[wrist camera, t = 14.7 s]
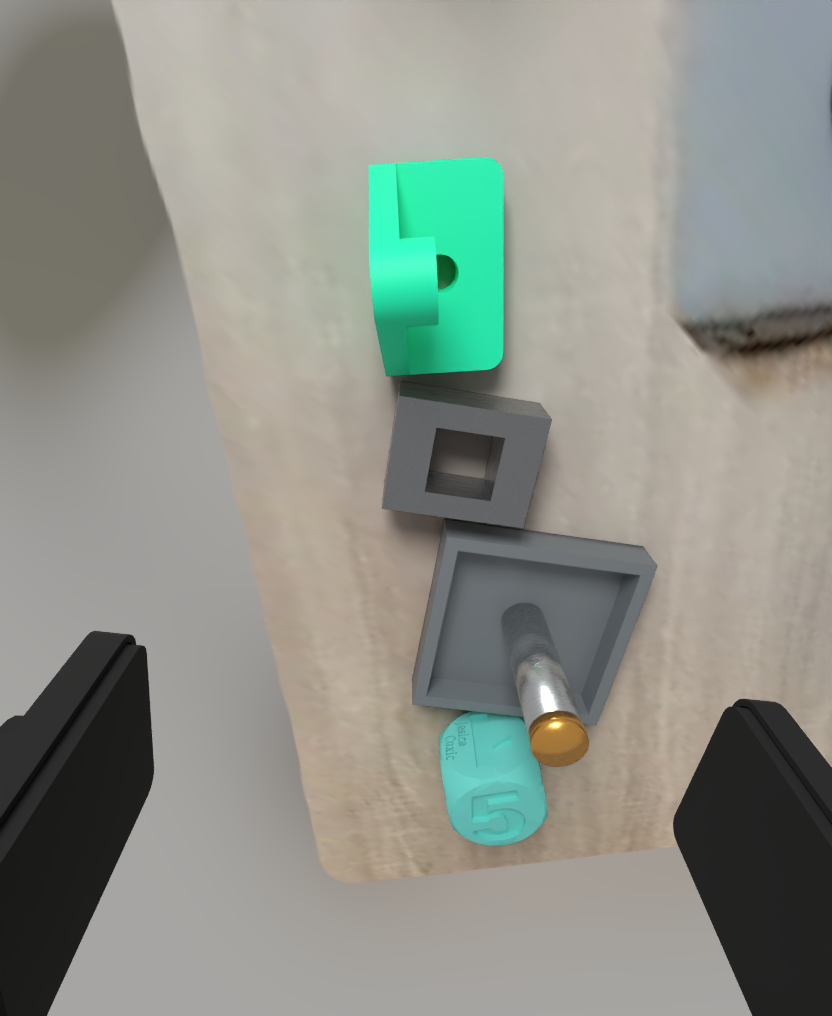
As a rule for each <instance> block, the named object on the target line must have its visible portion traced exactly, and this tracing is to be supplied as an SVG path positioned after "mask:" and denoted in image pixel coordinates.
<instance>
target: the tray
mask: <svg viewBox="0 0 832 1016" xmlns="http://www.w3.org/2000/svg"><path fill="white" fill-rule="evenodd" d="M656 569H657V564H656V563H655V562H654V560H653V559H652V558H651V556H650V555H649V554H648V552H647V551H646V550H645V548H644V547H643V546H636V545H629V544H622V543H615V542H608V541H600V540H593V539H586V538H579V537H572V536H564V535H557V534H550V533H543V532H536V531H529V530H521V529H514V528H507V527H500V526H493V525H485V524H478V523H471V522H464V521H457V520H449V519H445V520H444V525H443V530H442V535H441V540H440V545H439V549H438V554H437V559H436V564H435V569H434V574H433V579H432V584H431V589H430V594H429V599H428V604H427V609H426V614H425V619H424V624H423V629H422V634H421V638H420V643H419V648H418V653H417V658H416V663H415V668H414V673H413V678H412V704H414V705H423V706H432V707H441V708H450V709H459V710H467V711H476V712H485V713H494V714H503V715H512V716H520V717H523V713H522V708H521V704H520V700H519V696H518V692H517V688H516V684H515V680H514V676H513V671H512V667H511V663H510V659H509V655H508V651H507V647H506V643H505V639H504V634H503V630H502V626H501V618H502V615H503V614H504V612H505V611H506V610H507V609H508V608H509V607H511V606H513V605H515V604H518V603H531V604H534V605H536V606H538V607H539V608H540V609H541V610H542V612H543V614H544V617H545V620H546V622H547V625H548V628H549V631H550V633H551V636H552V639H553V642H554V645H555V647H556V650H557V653H558V656H559V658H560V661H561V664H562V667H563V670H564V672H565V675H566V678H567V681H568V683H569V686H570V689H571V692H572V695H573V697H574V700H575V703H576V706H577V709H578V711H579V714H580V717H581V720H582V722H583V724H591V725H597V722H598V720H599V717H600V715H601V712H602V709H603V707H604V704H605V702H606V699H607V696H608V694H609V691H610V689H611V686H612V683H613V681H614V678H615V676H616V673H617V670H618V668H619V665H620V663H621V660H622V657H623V655H624V652H625V649H626V647H627V644H628V642H629V639H630V636H631V634H632V631H633V629H634V626H635V623H636V621H637V618H638V616H639V613H640V610H641V608H642V605H643V603H644V600H645V597H646V595H647V592H648V590H649V587H650V584H651V582H652V579H653V577H654V574H655V571H656Z"/></svg>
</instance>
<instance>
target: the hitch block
mask: <svg viewBox="0 0 832 1016" xmlns="http://www.w3.org/2000/svg"><path fill="white" fill-rule="evenodd" d="M551 421H552V419H551V418H550V416H549V415H548V414H547V412H546V411H545V410H544V408H543V407H542V406H541V404H540V403H536V402H529V401H523V400H516V399H510V398H504V397H497V396H491V395H485V394H478V393H472V392H466V391H459V390H453V389H446V388H440V387H434V386H427V385H421V384H415V383H408V382H402V381H400V383H399V389H398V396H397V403H396V409H395V416H394V423H393V429H392V436H391V443H390V449H389V456H388V462H387V469H386V476H385V482H384V491H383V503H382V509H388V510H395V511H402V512H409V513H416V514H424V515H431V516H438V517H445V518H452V519H459V520H467V521H474V522H481V523H488V524H495V525H503V526H510V527H517V528H523V527H524V523H525V519H526V515H527V512H528V508H529V504H530V500H531V497H532V493H533V489H534V485H535V482H536V478H537V474H538V470H539V466H540V463H541V459H542V455H543V451H544V448H545V444H546V440H547V436H548V433H549V429H550V425H551ZM436 428H442V429H449V430H455V431H462V432H469V433H475V434H482V435H488V436H493V441H492V445H491V449H490V454H489V458H488V463H487V467H486V472H485V476H484V479H479V478H472V477H466V476H459V475H452V474H445V473H438V472H431V471H429V465H430V460H431V454H432V449H433V444H434V438H435V433H436Z"/></svg>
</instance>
